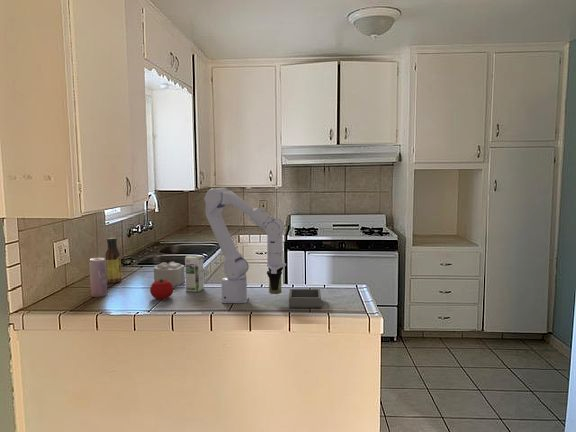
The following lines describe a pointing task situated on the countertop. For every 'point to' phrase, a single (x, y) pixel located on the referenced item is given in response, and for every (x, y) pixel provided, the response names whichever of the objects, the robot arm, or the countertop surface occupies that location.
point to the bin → (304, 299)
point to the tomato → (161, 289)
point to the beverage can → (98, 277)
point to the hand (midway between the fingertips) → (275, 288)
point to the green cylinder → (275, 290)
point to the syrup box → (194, 273)
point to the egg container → (170, 273)
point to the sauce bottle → (113, 262)
